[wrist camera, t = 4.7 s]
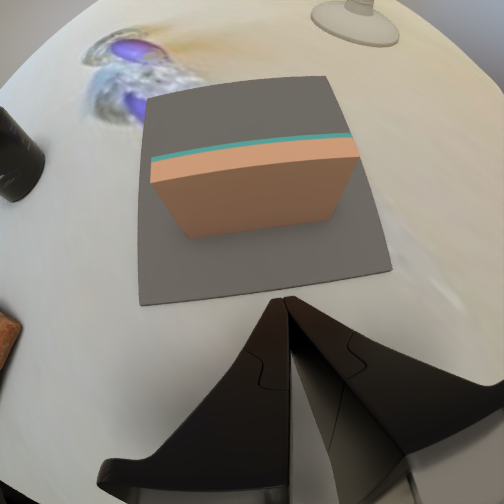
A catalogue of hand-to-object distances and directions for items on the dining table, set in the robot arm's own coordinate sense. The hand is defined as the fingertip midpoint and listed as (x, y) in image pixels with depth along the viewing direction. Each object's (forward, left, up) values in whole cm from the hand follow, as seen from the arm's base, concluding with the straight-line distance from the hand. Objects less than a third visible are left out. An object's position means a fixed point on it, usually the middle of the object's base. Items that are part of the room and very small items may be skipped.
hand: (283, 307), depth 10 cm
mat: (+11, -6, -10) cm, 15 cm away
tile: (+6, -4, -9) cm, 12 cm away
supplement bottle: (+27, +12, -10) cm, 32 cm away
